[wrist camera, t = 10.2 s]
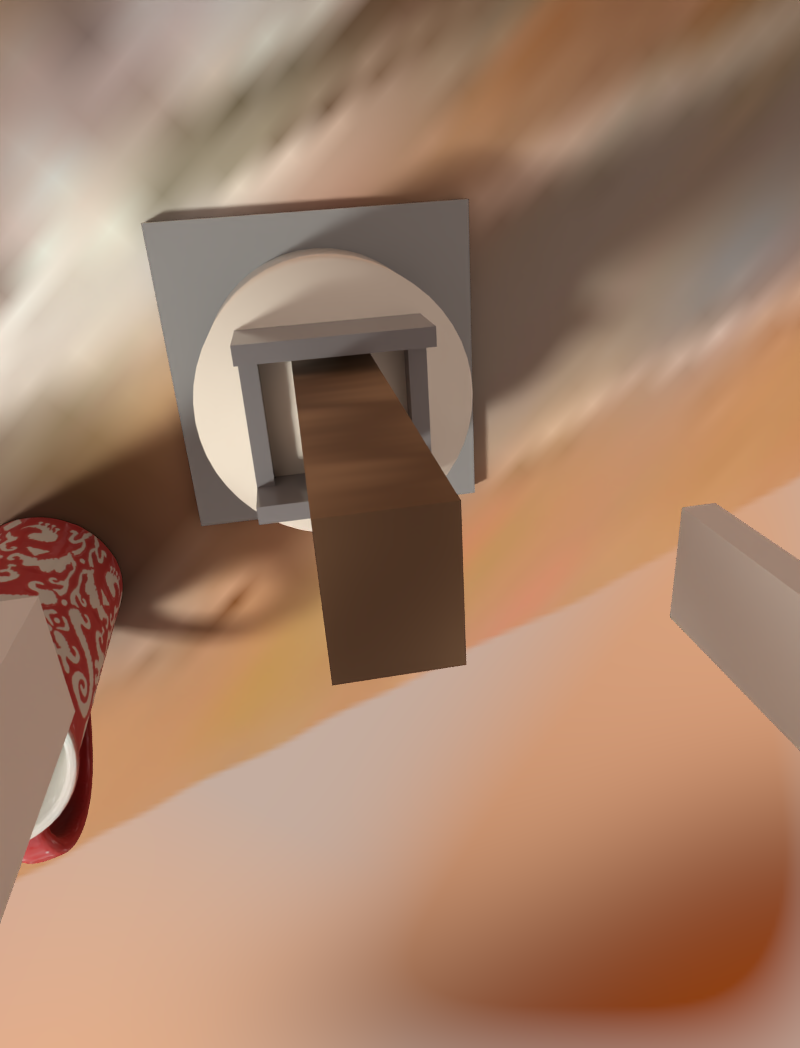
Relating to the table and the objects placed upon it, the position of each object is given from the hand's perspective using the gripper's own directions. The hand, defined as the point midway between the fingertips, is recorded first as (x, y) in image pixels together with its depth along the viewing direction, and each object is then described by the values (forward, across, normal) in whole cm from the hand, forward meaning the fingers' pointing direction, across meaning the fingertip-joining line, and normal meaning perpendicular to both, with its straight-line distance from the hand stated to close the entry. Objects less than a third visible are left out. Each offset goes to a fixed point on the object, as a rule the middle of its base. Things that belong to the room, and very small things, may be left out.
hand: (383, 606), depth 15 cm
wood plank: (+15, 0, 0) cm, 15 cm away
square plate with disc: (+22, +1, 0) cm, 22 cm away
